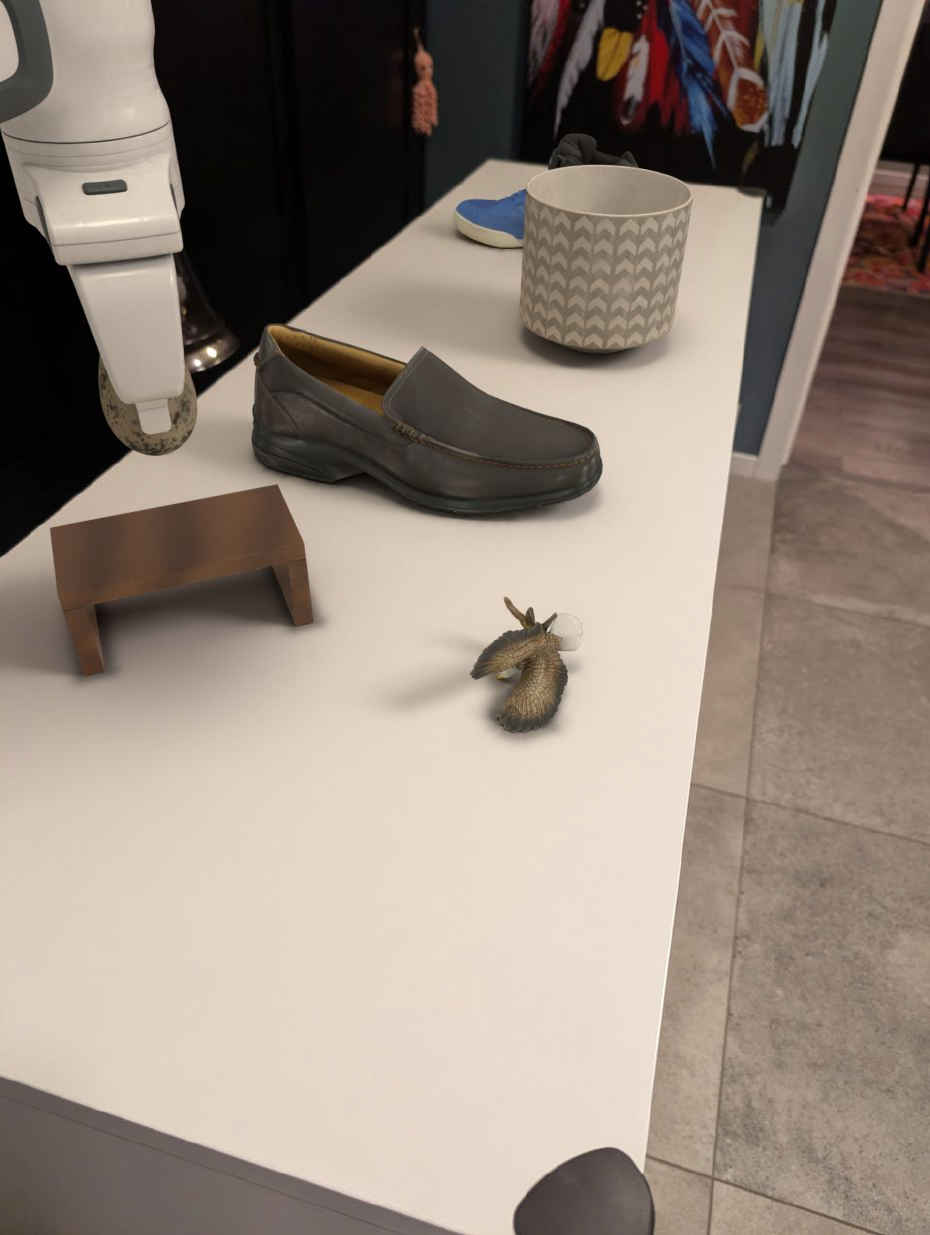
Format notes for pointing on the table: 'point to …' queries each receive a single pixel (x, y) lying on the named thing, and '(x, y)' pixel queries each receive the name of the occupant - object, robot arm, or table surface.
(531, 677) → the eagle figurine
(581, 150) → the sneaker
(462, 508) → the loafer
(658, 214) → the planter
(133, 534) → the shelf
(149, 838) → the table surface
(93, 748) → the table surface
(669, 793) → the table surface
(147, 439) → the decorative egg
